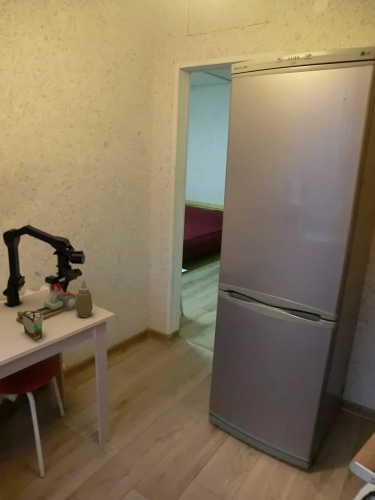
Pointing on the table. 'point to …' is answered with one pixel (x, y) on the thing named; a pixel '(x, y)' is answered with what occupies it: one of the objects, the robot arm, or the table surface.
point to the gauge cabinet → (67, 300)
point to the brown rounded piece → (64, 293)
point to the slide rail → (45, 311)
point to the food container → (33, 324)
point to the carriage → (53, 301)
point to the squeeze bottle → (84, 301)
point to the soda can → (55, 285)
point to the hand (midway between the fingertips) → (64, 291)
